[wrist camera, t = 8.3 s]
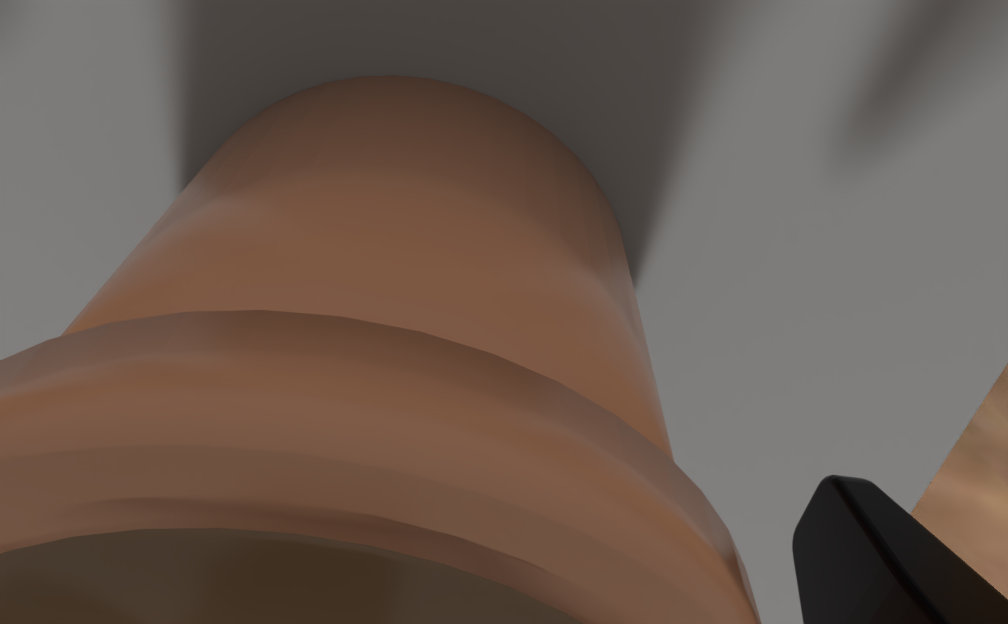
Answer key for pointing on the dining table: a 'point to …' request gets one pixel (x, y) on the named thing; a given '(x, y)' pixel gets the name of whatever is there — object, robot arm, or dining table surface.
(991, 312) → the grey mat
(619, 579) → the pot
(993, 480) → the dining table surface
